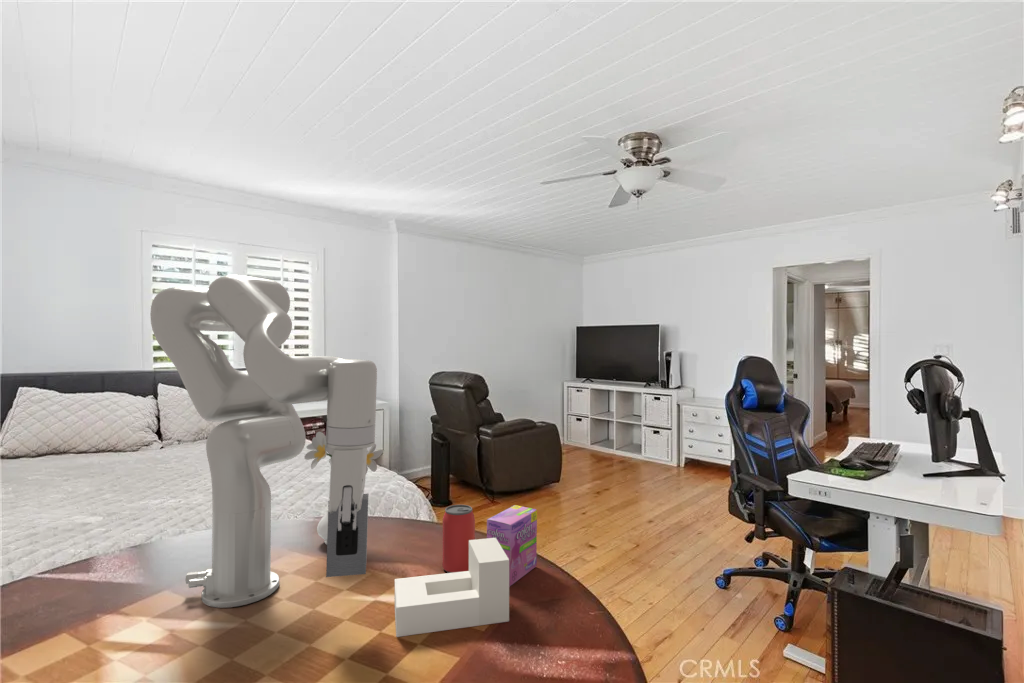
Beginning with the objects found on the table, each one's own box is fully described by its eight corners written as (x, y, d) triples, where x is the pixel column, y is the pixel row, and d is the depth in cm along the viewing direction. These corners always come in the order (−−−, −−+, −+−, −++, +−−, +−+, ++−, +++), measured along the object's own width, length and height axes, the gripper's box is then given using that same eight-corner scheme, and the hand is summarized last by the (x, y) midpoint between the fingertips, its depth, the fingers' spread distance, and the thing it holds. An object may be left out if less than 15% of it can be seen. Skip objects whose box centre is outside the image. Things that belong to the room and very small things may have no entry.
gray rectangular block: (326, 577, 79) (328, 501, 79) (328, 568, 82) (330, 495, 82) (365, 574, 81) (368, 499, 81) (366, 565, 84) (368, 493, 84)
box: (510, 587, 94) (510, 523, 94) (485, 580, 97) (485, 518, 97) (537, 567, 103) (537, 509, 103) (513, 560, 106) (514, 504, 106)
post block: (396, 636, 78) (396, 571, 78) (394, 605, 88) (394, 547, 88) (509, 621, 82) (509, 559, 83) (495, 592, 92) (495, 537, 92)
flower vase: (366, 555, 109) (367, 438, 109) (288, 549, 112) (289, 436, 112) (391, 533, 122) (391, 429, 122) (320, 528, 125) (321, 427, 125)
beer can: (473, 575, 99) (473, 514, 99) (439, 575, 99) (440, 513, 99) (476, 561, 106) (476, 503, 106) (444, 560, 106) (445, 503, 106)
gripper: (331, 427, 88) (327, 532, 89) (320, 447, 73) (316, 574, 73) (375, 426, 90) (372, 529, 90) (374, 445, 75) (370, 570, 75)
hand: (347, 548), depth 82 cm, fingers closed on gray rectangular block, 3 cm apart
